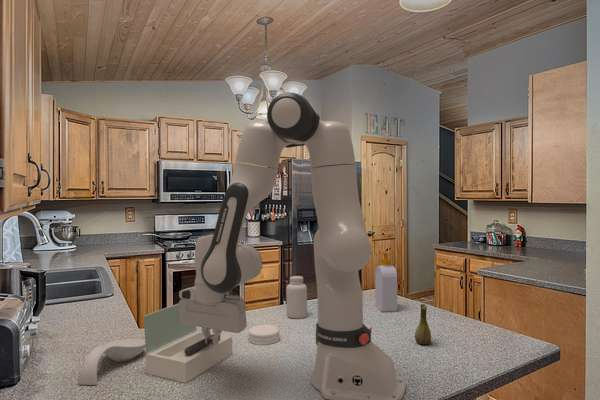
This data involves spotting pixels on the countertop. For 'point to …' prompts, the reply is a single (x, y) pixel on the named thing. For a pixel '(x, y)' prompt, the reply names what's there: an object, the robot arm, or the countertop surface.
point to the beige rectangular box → (186, 357)
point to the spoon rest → (114, 351)
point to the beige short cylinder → (263, 334)
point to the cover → (164, 327)
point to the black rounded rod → (196, 346)
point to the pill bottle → (296, 298)
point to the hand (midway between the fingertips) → (211, 344)
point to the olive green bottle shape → (423, 328)
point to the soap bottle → (386, 286)
